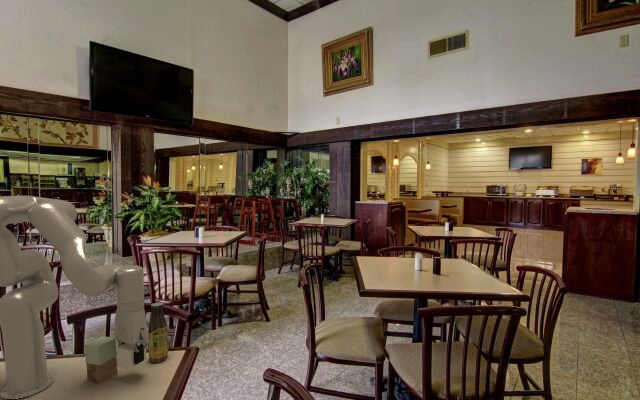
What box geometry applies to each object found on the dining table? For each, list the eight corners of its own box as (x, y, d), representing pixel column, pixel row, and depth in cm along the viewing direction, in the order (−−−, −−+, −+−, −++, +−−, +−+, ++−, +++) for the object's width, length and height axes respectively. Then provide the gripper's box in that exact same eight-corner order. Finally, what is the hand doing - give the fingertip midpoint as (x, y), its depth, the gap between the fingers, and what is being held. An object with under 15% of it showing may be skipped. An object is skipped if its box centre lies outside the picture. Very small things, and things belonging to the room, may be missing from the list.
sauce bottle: (154, 365, 116) (150, 309, 115) (145, 360, 119) (142, 305, 118) (172, 357, 121) (169, 303, 120) (163, 352, 125) (160, 300, 124)
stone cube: (116, 365, 107) (116, 347, 107) (134, 356, 112) (134, 339, 112) (129, 370, 105) (129, 351, 104) (146, 361, 110) (146, 343, 110)
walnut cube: (87, 380, 109) (86, 361, 108) (106, 370, 114) (104, 353, 114) (99, 384, 106) (97, 365, 106) (117, 374, 111) (116, 356, 111)
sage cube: (85, 362, 108) (84, 344, 107) (103, 353, 113) (102, 336, 113) (99, 365, 106) (98, 346, 105) (116, 355, 111) (115, 338, 111)
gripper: (102, 304, 108) (103, 359, 109) (138, 313, 101) (139, 372, 101) (124, 297, 115) (125, 349, 116) (159, 305, 107) (160, 360, 108)
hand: (131, 359), depth 108 cm, fingers closed on stone cube, 6 cm apart
